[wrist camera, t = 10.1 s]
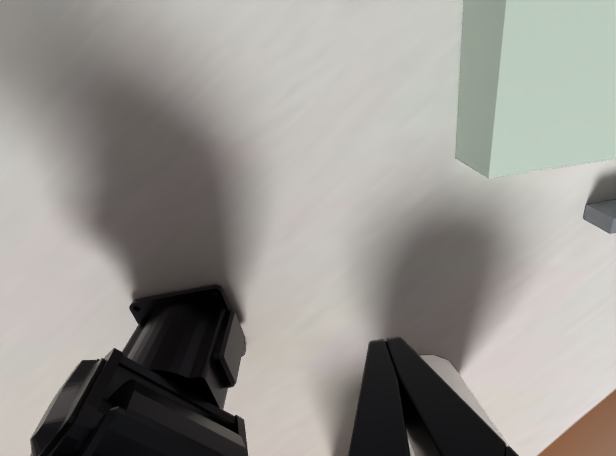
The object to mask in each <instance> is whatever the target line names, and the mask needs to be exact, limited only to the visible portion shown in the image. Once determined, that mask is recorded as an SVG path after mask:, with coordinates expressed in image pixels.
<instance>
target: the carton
mask: <svg viewBox="0 0 616 456" xmlns="http://www.w3.org/2000/svg"><path fill="white" fill-rule="evenodd" d="M455 158H456V159H457V160H459V161H461V162H462V163H464V164H466V165H467V166H469V167H470V168H472V169H474V170H475V171H477V172H479V173H480V174H482V175H484V176H485V177H487V178H495V177H501V176H508V175H514V174H521V173H528V172H534V171H541V170H547V169H554V168H560V167H567V166H574V165H580V164H587V163H593V162H600V161H606V160H613V159H616V0H463V18H462V37H461V57H460V76H459V95H458V114H457V134H456V153H455Z"/></svg>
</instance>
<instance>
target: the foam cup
mask: <svg viewBox="0 0 616 456" xmlns="http://www.w3.org/2000/svg"><path fill="white" fill-rule="evenodd" d="M419 356H420V357H421V358H422V359H423V360H424V361H425V362H426V363H427V364H428V365H429V366H430V367H431V368H432V369H433V370H434V371H435V372H436V373H437V374H438V375H439V376H440V377H441V378H442V379H443V380H444V381H445V382H446V383H447V384H448V385H449V386H450V387H451V388H452V389H453V390H454V391H455V392H456V393H457V394H458V395H459V396H460V397H461V398H462V399H463V400H464V401H465V402H466V403H467V404H468V405H469V406H470V407H471V408H472V409H473V410H474V411H475V412H476V413H477V414H478V415H479V416H480V417H481V418H482V419H483V420H484V421H485V422H486V423H487V424H488V425H489V426H490V427H491V428H492V429H493V430H494V431H495V432H496V433H497V434H498V435H499V436H500V437H501V438H502V439H503V440H504V441H505V439H504V438H503V436H502V435H501V433H500V432H499V431H498V429H497V428H496V426H495V425H494V423H493V422H492V421H491V419H490V418H489V416H488V415H487V413H486V412H485V410H484V409H483V408H482V406H481V405H480V403H479V402H478V400H477V399H476V397H475V396H474V395H473V393H472V392H471V390H470V389H469V387H468V386H467V384H466V383H465V382H464V380H463V379H462V377H461V376H460V375H459V373H458V372H457V371H456V369H455V368H454V367H453V366H452V364H451V363H450V362H449V361H448V360H446V359H443V358H440V357H438V356H435V355H419ZM408 443H409V449H410V455H411V456H415V455H414V452H413V449H412V447H411V444H410V441H409V439H408ZM505 443H506V446H509V445H508V444H507V442H506V441H505Z"/></svg>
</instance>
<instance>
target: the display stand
mask: <svg viewBox="0 0 616 456" xmlns="http://www.w3.org/2000/svg"><path fill="white" fill-rule="evenodd" d="M583 219H584V220H586V221H588V222H590V223H591V224H593V225H595V226H597V227H599V228H600V229H602V230H604V231H606V232H608V233H609V234H611V233H616V199H614V200H609V201H604V202H598V203H593V204H587V205H586V208H585V213H584V218H583Z"/></svg>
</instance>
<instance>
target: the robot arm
mask: <svg viewBox="0 0 616 456" xmlns="http://www.w3.org/2000/svg"><path fill="white" fill-rule="evenodd" d="M213 292H217V293H218V294H214V293H213ZM137 306H139V307H140V308H139V307H137ZM129 308H130V311H131V312H132V314H133V316H134V318H135V319H136V321H137V323H138V324H139V325H138V327H137V328H136V330H135V332H134V333H133V335H132V336H131V338H130V340H129V341H128V343H127V345H126V346H125V348H124V350H123V351H122V352H121V351H119V350H117V349H115V348H114V349H112V350H111V351H110V352H109V353H108V354H107V355H106V356H105V358H104V359H103V358H102V359H100V360H99V359H97V360H82V361H81V362H80V363H79V364H78V365H77V366H76V368H75V369H74V371H73V372H72V373H71V375H70V376H69V377H68V379H67V380H66V382H65V383H64V384H63V386H62V387H61V388H60V390H59V391H58V393H57V394H56V396H55V397H54V399H53V400H52V402H51V404H50V405H49V407H48V409H47V410H46V412H45V414H44V416H43V418H42V419H41V421H40V423H39V425H38V426H37V428H36V430H35V432H34V434H33V435H32V437H31V439H30V441H31V452H32V453H31V455H30V456H248V450H247V441H246V432H245V424H244V419H242V418H241V417H239V416H237V415H235V416H233V415H231V414H230V413H228V412H226V411H224V410H223V408H224V404H225V399H226V394H227V390H228V388H230V387H234V385H235V384H236V381H237V376H238V371H239V365H240V360H241V357H242V356H244V355H245V352H246V346H245V344H244V340H245V336H244V333H243V331H242V328H241V326H240V323H239V321H238V318H237V315H236V313H235V312H234V311H233V310H231V308H230V306H229V303H228V301H227V298H226V296H225V293H224V291H223V289H222V287H220V286H218V285H211V286H206V287H201V288H195V289H190V290H184V291H179V292H173V293H168V294H162V295H157V296H151V297H146V298H140V299H136V300H134V301H133V302H132V303H131V305H130V307H129ZM408 439H409V441H410V444H411V447H412V449H413V452H414V455H415V456H519V455H518V454H517V453H516V452H515V451H514V450H513V449H512V448H511V447H510V446H506V443H505V441H504V440H503V439H502V438H501V437H500V436H499V435H498V434H497V433H496V432H495V431H494V430H493V429H492V428H491V427H490V426H489V425H488V424H487V423H486V422H485V421H484V420H483V419H482V418H481V417H480V416H479V415H478V414H477V413H476V412H475V411H474V410H473V409H472V408H471V407H470V406H469V405H468V404H467V403H466V402H465V401H464V400H463V399H462V398H461V397H460V396H459V395H458V394H457V393H456V392H455V391H454V390H453V389H452V388H451V387H450V386H449V385H448V384H447V383H446V382H445V381H444V380H443V379H442V378H441V377H440V376H439V375H438V374H437V373H436V372H435V371H434V370H433V369H432V368H431V367H430V366H429V365H428V364H427V363H426V362H425V361H424V360H423V359H422V358H421V357H420V356H419V355H418V354H417V353H416V352H415V351H414V350H413V349H412V348H411V347H410V346H409V345H408V344H407V343H406V342H405V341H404V340H403V339H402V338H401V337H399V336H397V337H391V338H387V339H386V340H383V339H379V340H373V341H370V342H369V345H368V351H367V356H366V362H365V367H364V373H363V378H362V384H361V389H360V395H359V400H358V406H357V411H356V417H355V422H354V428H353V434H352V439H351V445H350V450H349V456H411V455H410V449H409V443H408Z"/></svg>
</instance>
